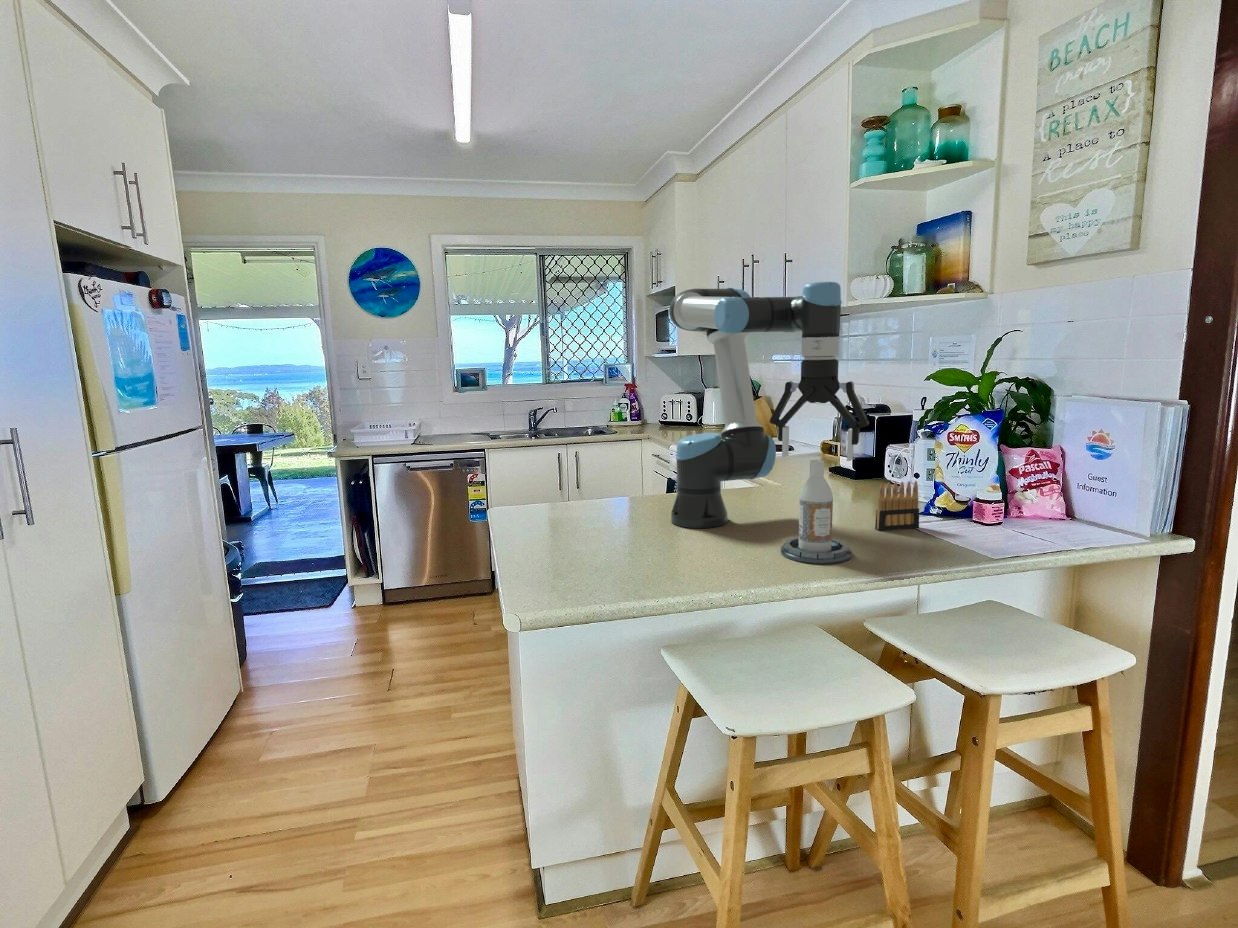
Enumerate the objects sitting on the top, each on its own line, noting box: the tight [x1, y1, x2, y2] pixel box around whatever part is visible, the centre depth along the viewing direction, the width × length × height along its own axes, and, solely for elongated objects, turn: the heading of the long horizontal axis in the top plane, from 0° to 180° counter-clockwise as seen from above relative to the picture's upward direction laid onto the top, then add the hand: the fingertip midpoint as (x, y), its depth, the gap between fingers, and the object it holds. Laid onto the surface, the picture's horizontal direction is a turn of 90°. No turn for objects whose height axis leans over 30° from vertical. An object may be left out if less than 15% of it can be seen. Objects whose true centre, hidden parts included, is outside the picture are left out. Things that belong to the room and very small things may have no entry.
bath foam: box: [798, 459, 834, 553], centre depth 136 cm, size 7×7×20 cm
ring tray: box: [780, 536, 853, 565], centre depth 138 cm, size 15×15×2 cm
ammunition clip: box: [874, 480, 920, 532], centre depth 154 cm, size 11×2×12 cm, turn 97°
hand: (816, 458), depth 135 cm, fingers open, 13 cm apart
